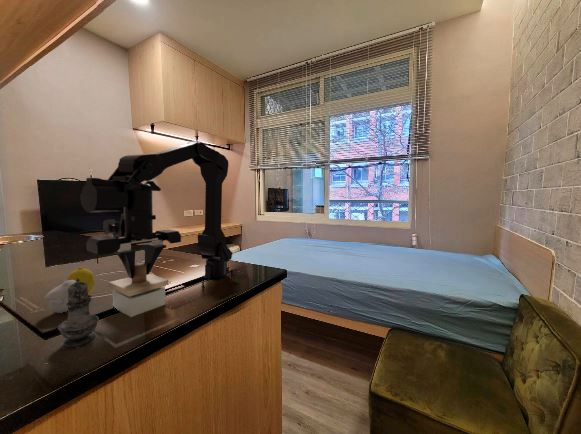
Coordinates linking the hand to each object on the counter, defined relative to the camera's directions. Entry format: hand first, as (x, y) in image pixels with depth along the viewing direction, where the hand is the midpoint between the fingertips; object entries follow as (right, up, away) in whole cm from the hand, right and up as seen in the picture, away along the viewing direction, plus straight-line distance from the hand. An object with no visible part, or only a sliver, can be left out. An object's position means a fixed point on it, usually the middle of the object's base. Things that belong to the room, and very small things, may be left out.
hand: (139, 276), depth 61 cm
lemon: (-18, -7, +5) cm, 20 cm away
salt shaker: (-3, -9, -13) cm, 17 cm away
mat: (-2, -7, +13) cm, 15 cm away
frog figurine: (-15, -8, -2) cm, 17 cm away
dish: (0, -8, +1) cm, 8 cm away
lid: (0, -2, 0) cm, 2 cm away
